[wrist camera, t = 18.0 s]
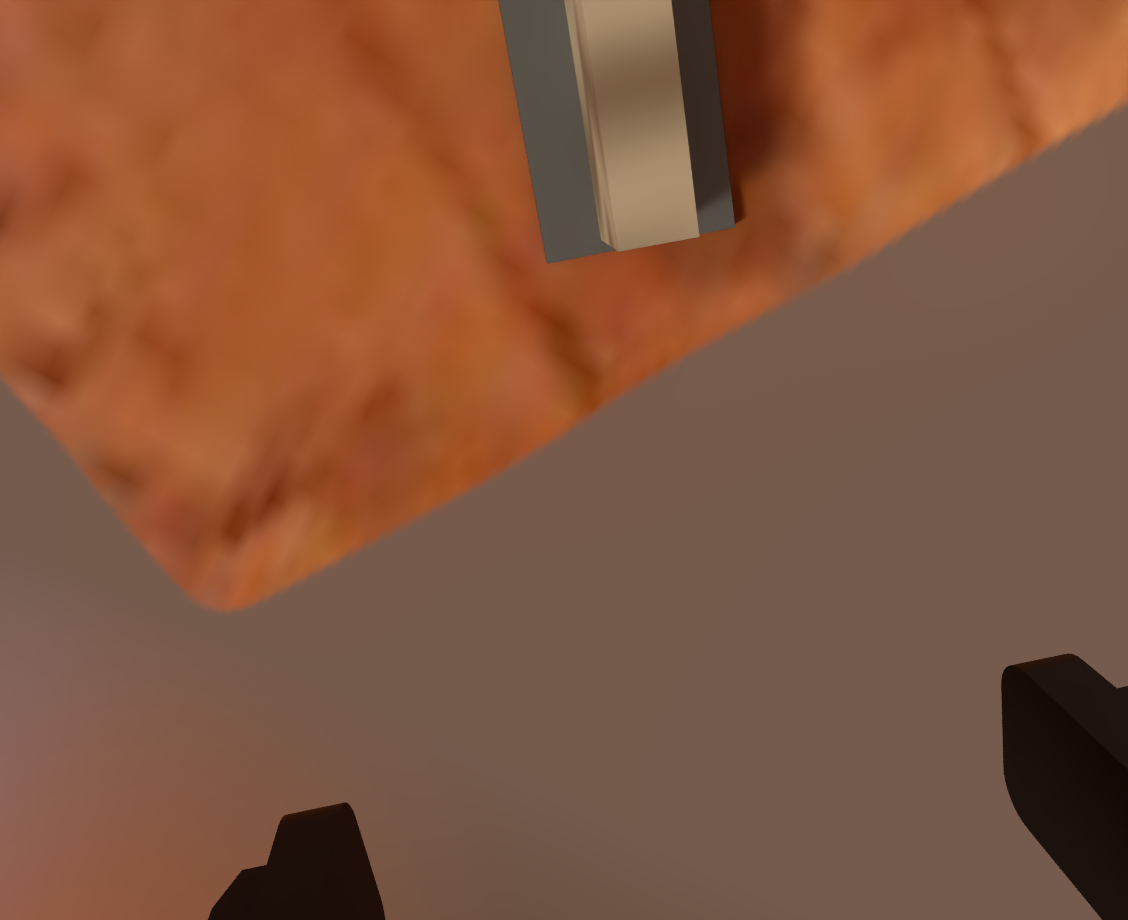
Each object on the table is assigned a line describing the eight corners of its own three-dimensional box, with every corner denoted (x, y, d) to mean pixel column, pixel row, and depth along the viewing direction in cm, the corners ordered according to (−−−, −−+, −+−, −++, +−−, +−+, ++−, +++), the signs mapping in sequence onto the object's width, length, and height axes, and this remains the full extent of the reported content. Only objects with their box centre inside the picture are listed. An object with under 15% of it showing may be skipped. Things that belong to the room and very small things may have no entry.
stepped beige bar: (671, 226, 38) (699, 236, 33) (601, 239, 38) (618, 251, 33) (618, -193, 33) (641, -251, 28) (536, -179, 33) (546, -235, 28)
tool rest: (546, 261, 39) (547, 263, 38) (454, -241, 33) (454, -248, 32) (731, 226, 39) (735, 227, 38) (672, -280, 33) (676, -288, 32)
